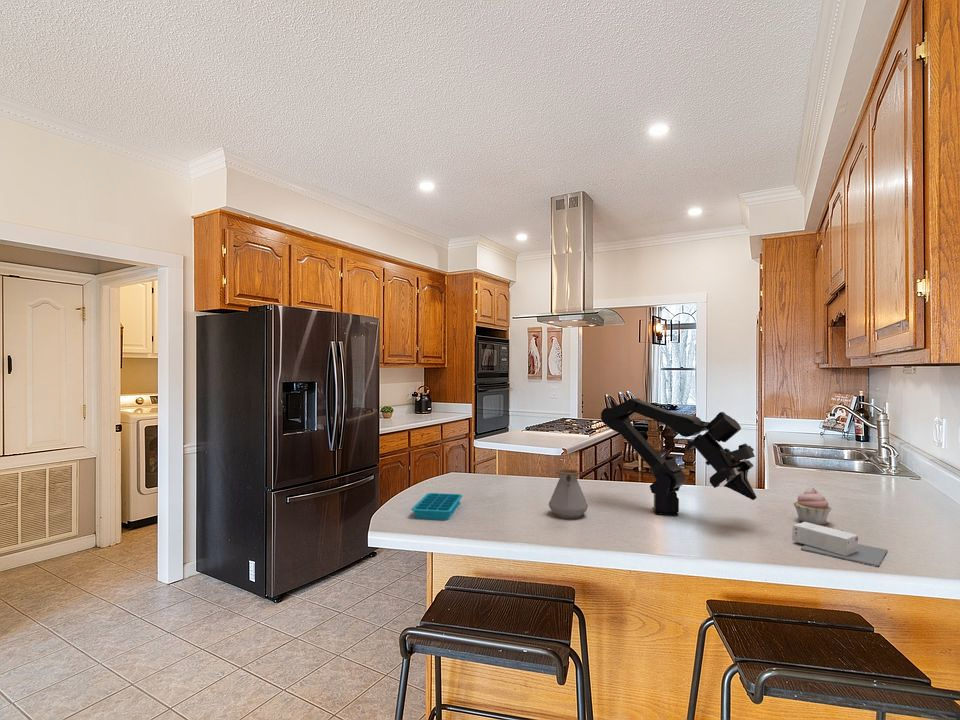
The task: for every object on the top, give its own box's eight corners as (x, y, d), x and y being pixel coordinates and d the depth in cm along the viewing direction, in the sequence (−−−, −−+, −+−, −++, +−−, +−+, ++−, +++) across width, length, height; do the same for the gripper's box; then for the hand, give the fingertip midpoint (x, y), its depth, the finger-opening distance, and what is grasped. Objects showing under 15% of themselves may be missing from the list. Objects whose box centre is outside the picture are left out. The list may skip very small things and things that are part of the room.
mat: (800, 549, 125) (800, 548, 125) (814, 536, 135) (814, 535, 135) (878, 567, 114) (878, 565, 114) (887, 551, 124) (887, 549, 124)
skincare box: (791, 541, 130) (845, 558, 119) (792, 523, 130) (846, 539, 119) (804, 537, 133) (858, 553, 123) (805, 519, 133) (859, 534, 123)
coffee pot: (549, 508, 160) (549, 460, 160) (587, 510, 158) (587, 461, 158) (546, 529, 139) (546, 474, 139) (590, 532, 137) (590, 475, 137)
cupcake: (818, 529, 141) (818, 492, 142) (786, 519, 150) (786, 485, 150) (839, 524, 145) (839, 489, 146) (806, 516, 154) (806, 482, 154)
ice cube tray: (410, 520, 148) (410, 509, 148) (427, 502, 168) (428, 492, 168) (449, 522, 146) (450, 511, 146) (463, 503, 166) (463, 494, 166)
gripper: (722, 437, 136) (768, 487, 128) (746, 431, 149) (788, 476, 141) (692, 463, 142) (734, 512, 134) (717, 455, 155) (757, 499, 147)
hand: (755, 498), depth 139 cm, fingers closed
